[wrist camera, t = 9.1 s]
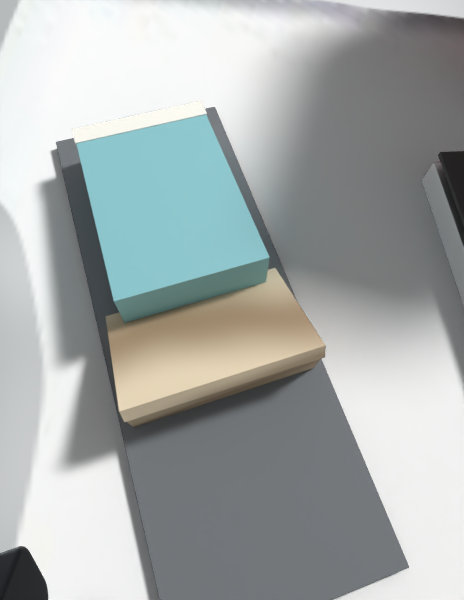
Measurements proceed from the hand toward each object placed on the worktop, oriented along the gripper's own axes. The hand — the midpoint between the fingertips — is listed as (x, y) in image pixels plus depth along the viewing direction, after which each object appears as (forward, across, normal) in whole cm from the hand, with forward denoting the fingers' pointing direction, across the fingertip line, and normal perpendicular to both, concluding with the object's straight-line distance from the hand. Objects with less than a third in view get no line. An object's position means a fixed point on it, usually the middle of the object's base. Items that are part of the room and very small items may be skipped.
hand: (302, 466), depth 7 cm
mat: (+13, 0, +3) cm, 14 cm away
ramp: (+12, 0, +4) cm, 13 cm away
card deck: (+12, 0, +1) cm, 12 cm away
